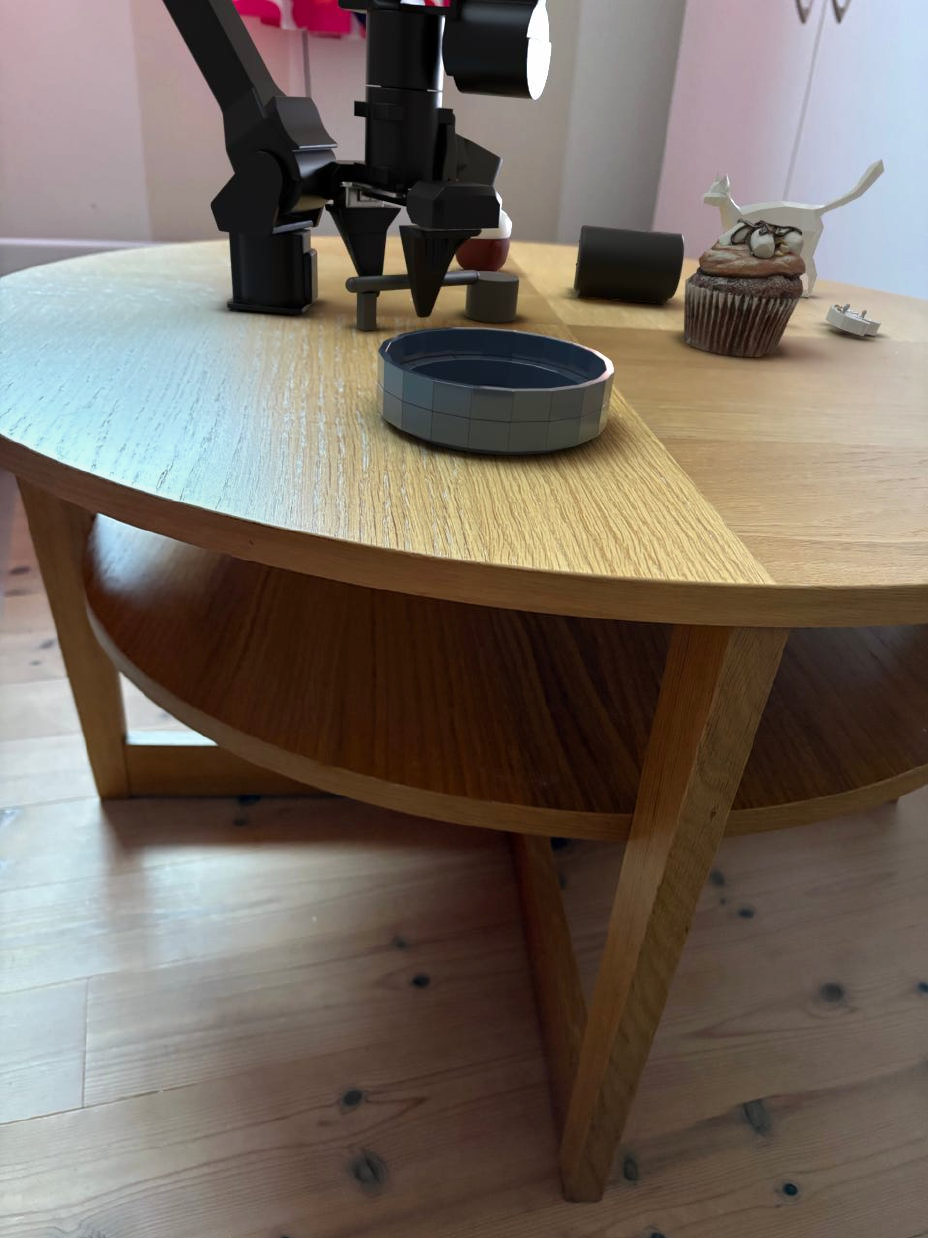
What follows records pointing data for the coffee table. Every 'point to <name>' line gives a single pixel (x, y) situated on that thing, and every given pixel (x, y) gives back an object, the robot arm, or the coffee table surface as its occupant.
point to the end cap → (628, 264)
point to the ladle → (484, 295)
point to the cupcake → (745, 290)
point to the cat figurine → (787, 213)
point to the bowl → (493, 389)
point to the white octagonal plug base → (851, 320)
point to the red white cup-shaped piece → (487, 248)
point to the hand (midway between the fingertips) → (397, 306)
